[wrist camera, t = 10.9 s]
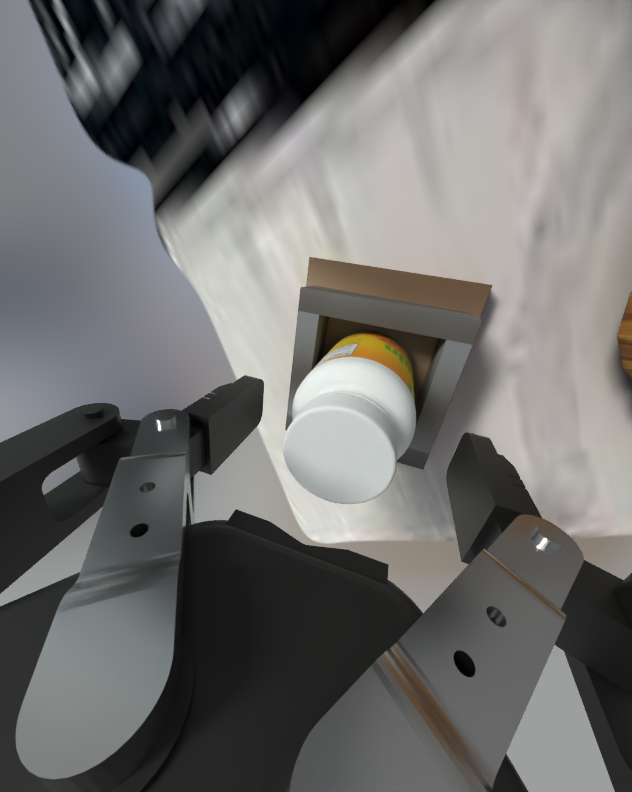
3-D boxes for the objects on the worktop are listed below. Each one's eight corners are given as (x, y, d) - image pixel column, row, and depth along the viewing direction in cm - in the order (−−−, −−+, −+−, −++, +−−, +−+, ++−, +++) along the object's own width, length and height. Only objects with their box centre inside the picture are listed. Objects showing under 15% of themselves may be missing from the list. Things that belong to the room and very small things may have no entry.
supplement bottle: (426, 389, 17) (449, 502, 9) (351, 419, 20) (312, 531, 11) (388, 311, 16) (372, 356, 8) (313, 352, 19) (236, 422, 10)
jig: (314, 257, 17) (294, 254, 14) (487, 284, 15) (508, 287, 12) (294, 422, 22) (276, 445, 19) (421, 457, 20) (424, 490, 17)
